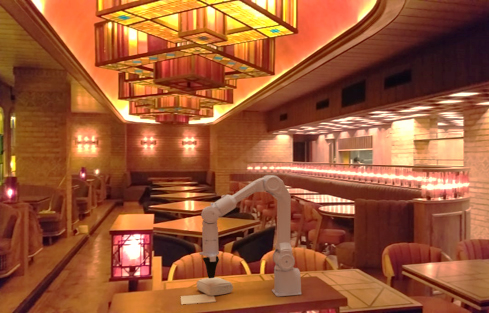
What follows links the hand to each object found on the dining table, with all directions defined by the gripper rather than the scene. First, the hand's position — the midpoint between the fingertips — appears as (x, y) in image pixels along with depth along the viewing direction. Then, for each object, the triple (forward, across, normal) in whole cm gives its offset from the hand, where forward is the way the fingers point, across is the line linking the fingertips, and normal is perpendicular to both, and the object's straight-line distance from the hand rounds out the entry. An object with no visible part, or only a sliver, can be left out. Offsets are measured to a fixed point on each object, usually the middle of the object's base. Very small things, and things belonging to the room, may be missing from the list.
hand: (211, 277), depth 149 cm
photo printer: (+5, -2, +4) cm, 7 cm away
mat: (+7, 0, -5) cm, 9 cm away
